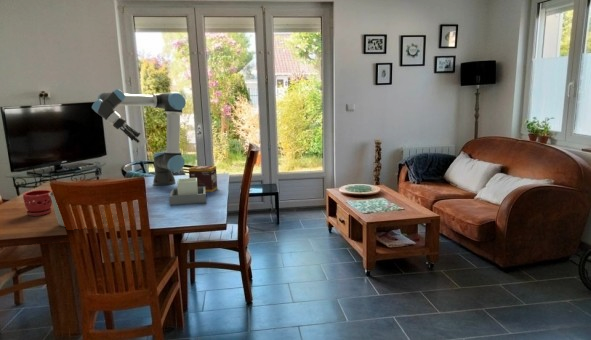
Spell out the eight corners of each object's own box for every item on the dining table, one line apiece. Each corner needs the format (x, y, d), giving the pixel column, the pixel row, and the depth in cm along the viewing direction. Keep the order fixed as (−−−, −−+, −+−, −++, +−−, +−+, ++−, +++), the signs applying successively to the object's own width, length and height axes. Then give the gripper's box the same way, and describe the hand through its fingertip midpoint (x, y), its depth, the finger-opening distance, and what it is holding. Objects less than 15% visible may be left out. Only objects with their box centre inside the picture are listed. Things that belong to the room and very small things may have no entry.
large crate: (172, 197, 242) (172, 188, 241) (205, 195, 246) (205, 186, 245) (170, 205, 223) (169, 196, 222) (206, 203, 227) (205, 193, 226)
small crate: (179, 197, 238) (178, 178, 236) (198, 196, 241) (196, 177, 239) (178, 201, 228) (177, 182, 226) (197, 200, 230) (196, 181, 228)
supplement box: (212, 192, 254) (210, 168, 251) (189, 191, 256) (188, 168, 254) (217, 188, 264) (216, 165, 261) (196, 188, 266) (194, 165, 264)
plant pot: (22, 218, 205) (18, 196, 202) (31, 211, 217) (28, 190, 215) (50, 215, 208) (47, 194, 206) (57, 209, 221) (54, 188, 218)
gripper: (116, 124, 248) (144, 146, 254) (107, 126, 224) (137, 151, 230) (124, 115, 248) (151, 138, 254) (116, 117, 224) (146, 141, 230)
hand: (145, 144), depth 242 cm, fingers open, 13 cm apart
